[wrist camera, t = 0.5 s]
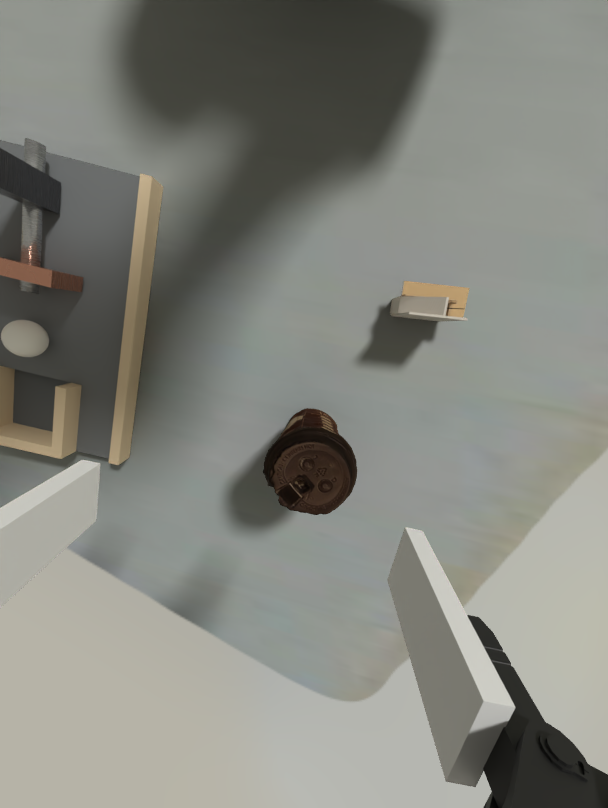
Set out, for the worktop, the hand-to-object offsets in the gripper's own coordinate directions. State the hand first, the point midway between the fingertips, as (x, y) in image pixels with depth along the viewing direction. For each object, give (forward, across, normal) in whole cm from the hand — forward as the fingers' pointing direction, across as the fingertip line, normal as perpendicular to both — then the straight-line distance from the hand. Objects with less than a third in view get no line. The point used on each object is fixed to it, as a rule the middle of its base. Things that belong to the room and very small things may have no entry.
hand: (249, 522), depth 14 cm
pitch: (+27, -29, +3) cm, 40 cm away
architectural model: (+28, +12, +13) cm, 33 cm away
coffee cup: (+27, +4, -4) cm, 28 cm away
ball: (+23, -29, 0) cm, 38 cm away
